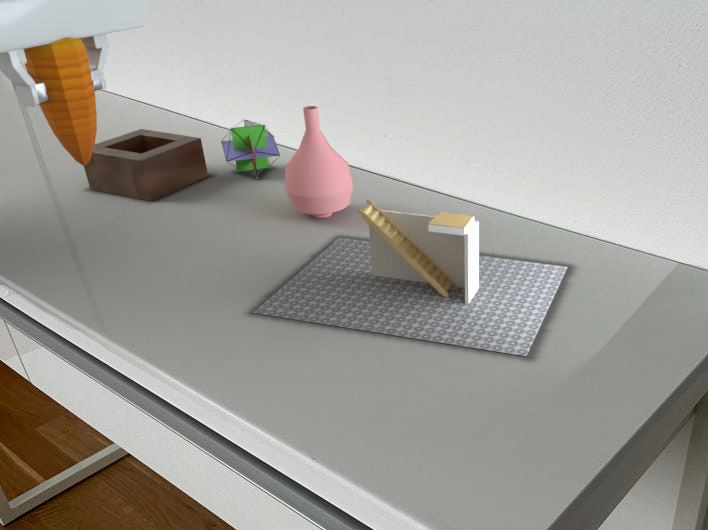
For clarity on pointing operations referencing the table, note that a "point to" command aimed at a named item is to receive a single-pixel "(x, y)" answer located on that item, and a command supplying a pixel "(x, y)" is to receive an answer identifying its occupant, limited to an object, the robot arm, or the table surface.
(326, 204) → the pink vase
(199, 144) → the hole block
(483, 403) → the table surface
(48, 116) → the carrot
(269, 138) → the geometric puzzle
